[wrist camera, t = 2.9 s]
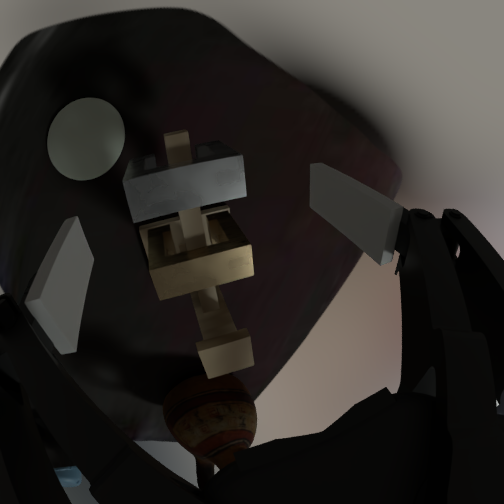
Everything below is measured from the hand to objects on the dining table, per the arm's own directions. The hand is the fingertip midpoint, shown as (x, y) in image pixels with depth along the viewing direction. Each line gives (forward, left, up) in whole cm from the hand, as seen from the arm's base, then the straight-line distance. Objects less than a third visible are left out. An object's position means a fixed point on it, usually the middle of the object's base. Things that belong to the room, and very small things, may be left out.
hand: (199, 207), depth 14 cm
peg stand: (0, -8, -20) cm, 22 cm away
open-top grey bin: (0, 0, -11) cm, 11 cm away
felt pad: (-10, +4, -20) cm, 23 cm away
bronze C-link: (0, -7, -11) cm, 13 cm away
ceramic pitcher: (-6, -51, -21) cm, 55 cm away
